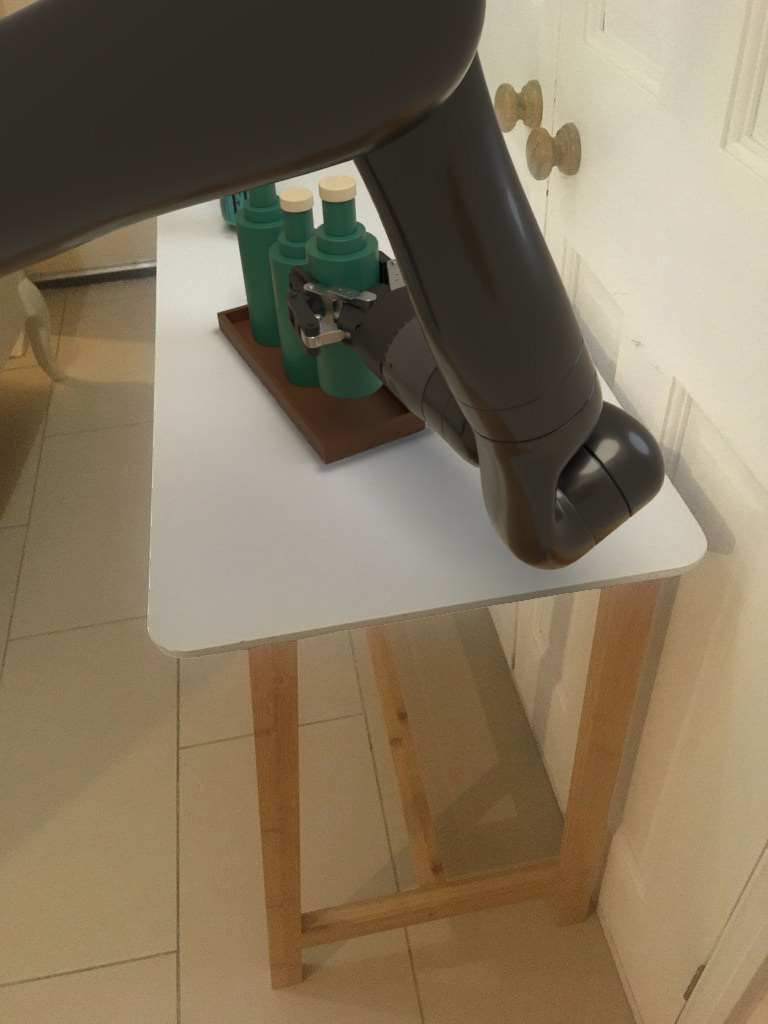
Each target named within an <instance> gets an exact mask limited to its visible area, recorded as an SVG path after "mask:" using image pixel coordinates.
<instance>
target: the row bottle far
mask: <svg viewBox="0 0 768 1024" xmlns="http://www.w3.org/2000/svg"><path fill="white" fill-rule="evenodd" d="M248 193H249V198H247V199H246V200H245V201H244V202H243V208H242V209H240V210H239V211H238V212H237V213H236V214H235V217H234V218H235V225H236V226H235V230H236V237H237V244H238V250H239V259H240V264H241V271H242V278H243V284H244V289H245V290H244V291H245V296H246V304H248V310H249V317H250V324H251V330H252V336H253V338H254V340H255V341H256V342H258V343H260V344H262V345H265V346H270V347H281V344H280V336H279V328H278V320H277V312H276V305H275V297H274V289H273V281H272V273H271V265H270V258H269V249H270V247H271V246H272V245H273V244H274V243H275V242H277V241H278V236H279V234H280V233H281V232H283V231H284V230H285V227H284V218H283V209H282V208H281V206H280V198H279V195H277V188H276V183H273V184H270V185H266V186H262V187H259V188H255V189H252V190H248Z"/></svg>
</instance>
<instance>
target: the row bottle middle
mask: <svg viewBox="0 0 768 1024" xmlns="http://www.w3.org/2000/svg"><path fill="white" fill-rule="evenodd" d="M278 196H279V198H280V206H281V208H282V209H283V218H284V227H285V230H284V231H283V232H281V233H280V234H279V236H278V241H277V242H275V243H274V244H273V245H272V246H271V247H270V249H269V258H270V265H271V273H272V281H273V289H274V297H275V305H276V312H277V320H278V328H279V336H280V344H281V352H282V359H283V367H284V375H285V377H286V378H287V380H288V381H290V382H291V383H293V384H295V385H298V386H302V387H320V384H319V377H318V367H317V358H316V356H308V355H307V354H306V352H305V350H304V349H303V347H302V345H301V343H300V342H299V340H298V338H297V336H296V335H295V333H294V331H293V329H292V327H291V326H290V324H289V311H288V303H287V300H286V295H287V294H288V293H290V284H289V276H288V274H290V273H291V267H293V266H297V265H301V266H302V267H303V268H304V269H305V270H306V271H307V261H306V252H305V245H306V242H307V241H308V240H309V239H310V238H311V237H312V236H314V235H316V229H317V228H316V227H315V219H314V209H313V207H314V206H315V201H314V200H315V199H314V192H313V191H312V190H311V189H309V188H306V187H290V188H287V189H284V190H282V191H281V192H280V193H279V195H278ZM307 272H308V271H307Z"/></svg>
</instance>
